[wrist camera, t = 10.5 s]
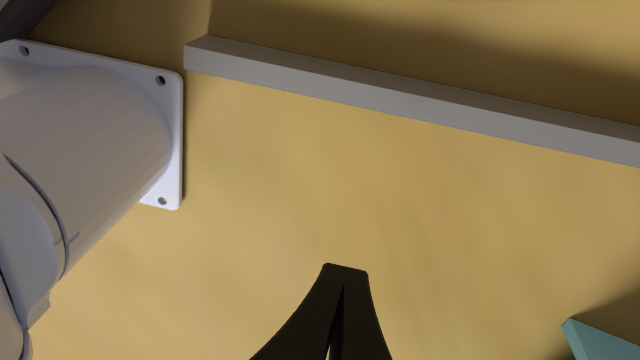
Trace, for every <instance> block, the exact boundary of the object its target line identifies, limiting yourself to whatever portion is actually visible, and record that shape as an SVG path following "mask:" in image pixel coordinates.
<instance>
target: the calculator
mask: <svg viewBox="0 0 640 360" xmlns="http://www.w3.org/2000/svg"><path fill="white" fill-rule="evenodd" d="M58 1H59V0H0V43H2V42H5V41H9V40H12V39H15V38H18V37H21V36H24V35H27V34H28V33H29V32H30V31H31V30H32V29H33V28H34V27H35V26H36V25H37V24H38V22H39V21H40V20H41V19H42V18H43V17H44V16H45V15H46V14H47V13H48V12H49V10H50V9H51V8H52V7H53V6H54V5H55V4H56V3H57V2H58Z"/></svg>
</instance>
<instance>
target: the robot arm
mask: <svg viewBox="0 0 640 360" xmlns="http://www.w3.org/2000/svg"><path fill="white" fill-rule="evenodd" d="M25 47H26V48H27V49H28V50H29V54H28V53H27V52H26V50H25ZM159 76H162V77H163V78H164V79H165V82H166V83H165V84H163V83H161V81H160V80H159ZM182 149H183V79H182V78H181V76H180V75H179V74H178V73H177V72H174V71H171V70H166V69H161V68H157V67H152V66H148V65H143V64H138V63H134V62H129V61H125V60H120V59H115V58H111V57H106V56H102V55H97V54H92V53H88V52H83V51H79V50H74V49H69V48H65V47H60V46H56V45H51V44H47V43H42V42H37V41H33V40H28V39H24V38H19V37H18V38H15V39H12V40H9V41H5V42H2V43H0V360H32V357H33V346H32V340H31V337H30V335H29V333H28V331H27V330H29V329H30V328H31V327H32V326H33V325H34V323H35V322H36V321H37V320H38V319H39V318H40V317H41V316H42V315H43V314H44V313H45V312H46V311H47V310H48V309H49V308H50V302H49V294H50V291H51V289H52V288H53V287H54V285H55V284H56V283H57V282H58V281H59V280H60V279H61V278H62V277H63V276H64V275H65V274H66V273H67V272H68V271H69V270H70V269H71V268H72V267H73V266H74V265H75V264H76V263H77V262H78V261H79V260H80V259H81V258H82V257H83V256H84V255H85V254H86V253H87V252H88V251H89V250H90V249H91V248H92V247H93V246H94V245H95V244H96V243H97V242H98V241H99V240H100V239H101V238H102V237H103V236H104V235H105V234H106V233H107V232H108V231H109V230H110V229H111V228H112V227H113V226H114V225H115V224H116V223H117V222H118V221H120V220H121V219H122V218H123V217H124V216H125V215H126V214H127V213H128V212H129V211H130V210H131V209H132V208H133V207H134V206H135V205H136V204H137V203H138V202H139V203H143V204H148V205H152V206H156V207H160V208H165V209H169V210H177V209H178V208H179V207H180V206H181V204H182ZM161 197H163V198H165V199H166V201H167V202H165V201H163V200H162V198H161ZM329 346H330V351H329V360H392V357H391V355H390V352H389V350H388V347H387V345H386V342H385V339H384V337H383V334H382V331H381V328H380V325H379V322H378V318H377V315H376V312H375V308H374V305H373V300H372V296H371V292H370V286H369V279H368V274H367V272H366V271H363V270H359V269H354V268H350V267H345V266H340V265H336V264H331V263H326V264H324V265H323V267H322V270H321V272H320V274H319V276H318V278H317V280H316V281H315V283H314V285H313V286H312V288H311V290H310V291H309V293H308V294H307V295H306V297H305V298H304V300H303V301H302V303H301V304H300V305H299V307H298V308H297V309H296V311H295V312H294V313H293V314H292V316H291V317H290V318H289V319H288V320H287V322H286V323H285V324H284V325H283V326H282V327H281V329H280V330H279V331H278V332H277V333H276V334H275V335H274V336H273V337H272V338H271V339H270V340H269V341H268V342H267V343H266V344H265V345H264V346H263V347H262V348H261V349H260V350H259V351H258V352H257V353H256V354H255V355H254V356H253V357H251V358H250V359H249V360H326V356H327V353H328V349H329Z"/></svg>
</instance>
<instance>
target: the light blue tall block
mask: <svg viewBox="0 0 640 360" xmlns="http://www.w3.org/2000/svg"><path fill="white" fill-rule="evenodd" d="M561 327H562V329H563V332H564V334H565V336H566V338H567V340H568V343H569V345H570V347H571V349H572V351H573V354H574V356H575V358H576V360H640V346H638V345H636V344H633V343H631V342H628V341H626V340H624V339H621V338H619V337H616V336H614V335H611V334H609V333H606V332H604V331H601V330H599V329H596V328H594V327H591V326H589V325H586V324H584V323H581V322H579V321H577V320H574V319H572V318H569V319H568V320H567V321H566V322H565V323H564V324H563V325H562V326H561Z"/></svg>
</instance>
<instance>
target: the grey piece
mask: <svg viewBox="0 0 640 360" xmlns="http://www.w3.org/2000/svg"><path fill="white" fill-rule="evenodd" d="M183 69H186V70H190V71H195V72H199V73H204V74H209V75H213V76H218V77H222V78H227V79H232V80H236V81H241V82H246V83H250V84H255V85H259V86H264V87H269V88H273V89H278V90H282V91H287V92H292V93H296V94H301V95H305V96H310V97H315V98H319V99H324V100H328V101H333V102H338V103H342V104H347V105H351V106H356V107H361V108H365V109H370V110H374V111H379V112H384V113H388V114H393V115H397V116H402V117H407V118H411V119H416V120H420V121H425V122H430V123H434V124H439V125H443V126H448V127H453V128H457V129H462V130H466V131H471V132H476V133H480V134H485V135H490V136H494V137H499V138H503V139H508V140H513V141H517V142H522V143H526V144H531V145H536V146H540V147H545V148H549V149H554V150H559V151H563V152H568V153H572V154H577V155H582V156H586V157H591V158H595V159H600V160H605V161H609V162H614V163H618V164H623V165H628V166H632V167H637V168H640V126H637V125H632V124H627V123H623V122H618V121H613V120H608V119H604V118H599V117H594V116H590V115H585V114H580V113H575V112H571V111H566V110H561V109H557V108H552V107H547V106H542V105H538V104H533V103H528V102H524V101H519V100H514V99H509V98H505V97H500V96H495V95H491V94H486V93H481V92H476V91H472V90H467V89H462V88H458V87H453V86H448V85H443V84H439V83H434V82H429V81H425V80H420V79H415V78H410V77H406V76H401V75H396V74H392V73H387V72H382V71H377V70H373V69H368V68H363V67H359V66H354V65H349V64H344V63H340V62H335V61H330V60H326V59H321V58H316V57H311V56H307V55H302V54H297V53H293V52H288V51H283V50H278V49H274V48H269V47H264V46H260V45H255V44H250V43H245V42H241V41H236V40H231V39H227V38H222V37H217V36H212V35H208V34H206V35H204V36H202V37H200V38H198V39H196V40H194V41H192V42H190V43H188V44H185V45H184V66H183Z"/></svg>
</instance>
